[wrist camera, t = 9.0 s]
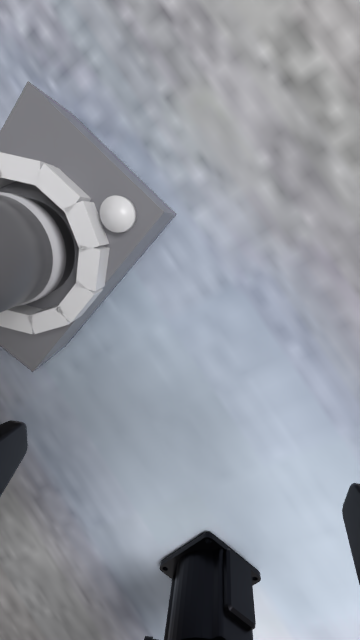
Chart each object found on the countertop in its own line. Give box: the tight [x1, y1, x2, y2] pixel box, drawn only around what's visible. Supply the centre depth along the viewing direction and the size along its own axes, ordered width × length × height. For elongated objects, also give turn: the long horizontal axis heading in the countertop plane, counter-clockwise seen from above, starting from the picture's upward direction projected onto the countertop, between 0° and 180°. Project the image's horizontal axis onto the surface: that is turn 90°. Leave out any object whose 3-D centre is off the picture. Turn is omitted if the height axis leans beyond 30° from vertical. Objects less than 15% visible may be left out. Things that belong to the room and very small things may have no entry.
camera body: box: [0, 82, 176, 372], centre depth 17 cm, size 12×8×5 cm
